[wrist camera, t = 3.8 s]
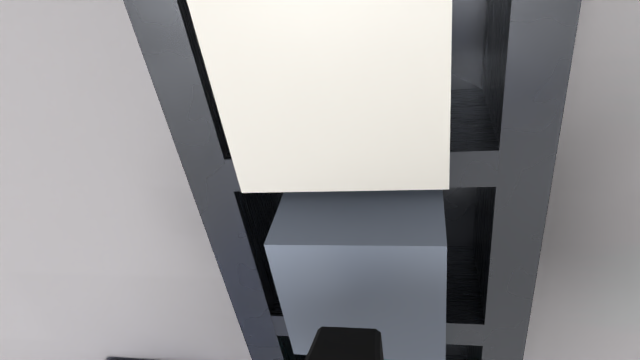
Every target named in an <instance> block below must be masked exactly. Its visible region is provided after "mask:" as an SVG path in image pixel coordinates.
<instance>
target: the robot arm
mask: <svg viewBox="0 0 640 360" xmlns="http://www.w3.org/2000/svg"><path fill="white" fill-rule="evenodd" d="M305 360H384V357H383V347H382V338H381V332H380V331H378V330H377V329H372V328H348V327H324V326H322V327H320V328H319V329H318V330H317V333H316V335H315V338H314V340H313V342H312V345H311V347H310V349H309V352H308V354H307V356H306V358H305Z"/></svg>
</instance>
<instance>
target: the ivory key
mask: <svg viewBox="0 0 640 360" xmlns="http://www.w3.org/2000/svg"><path fill="white" fill-rule="evenodd" d="M187 4H188V7H189V11H190V14H191V18H192V21H193V25H194V28H195V32H196V35H197V39H198V42H199V46H200V49H201V53H202V56H203V60H204V63H205V67H206V70H207V74H208V77H209V81H210V84H211V88H212V91H213V95H214V98H215V102H216V105H217V109H218V112H219V116H220V119H221V122H222V126H223V129H224V133H225V136H226V140H227V143H228V147H229V150H230V154H231V157H232V161H233V164H234V168H235V171H236V175H237V178H238V182H239V185H240V189H241V192H242V193H267V192H325V191H384V190H443V189H449V169H450V107H451V45H452V0H187Z"/></svg>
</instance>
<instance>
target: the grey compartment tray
mask: <svg viewBox="0 0 640 360" xmlns="http://www.w3.org/2000/svg"><path fill="white" fill-rule="evenodd" d="M123 1H124V4H125V7H126V9H127V12H128V15H129V18H130V21H131V23H132V26H133V29H134V32H135V35H136V37H137V40H138V43H139V46H140V48H141V51H142V54H143V57H144V60H145V62H146V65H147V68H148V71H149V74H150V76H151V79H152V82H153V85H154V88H155V90H156V93H157V96H158V99H159V101H160V104H161V107H162V110H163V113H164V115H165V118H166V121H167V124H168V127H169V129H170V132H171V135H172V138H173V140H174V143H175V146H176V149H177V152H178V154H179V157H180V160H181V163H182V166H183V168H184V171H185V174H186V177H187V180H188V182H189V185H190V188H191V191H192V193H193V196H194V199H195V202H196V205H197V207H198V210H199V213H200V216H201V219H202V221H203V224H204V227H205V230H206V232H207V235H208V238H209V241H210V244H211V246H212V249H213V252H214V255H215V258H216V260H217V263H218V266H219V269H220V272H221V274H222V277H223V280H224V283H225V285H226V288H227V291H228V294H229V297H230V299H231V302H232V305H233V308H234V311H235V313H236V316H237V319H238V322H239V324H240V327H241V330H242V333H243V336H244V338H245V341H246V344H247V347H248V350H249V352H250V355H251V358H252V360H305V358H306V356H307V355H301V354H294V353H293V349H292V345H291V342H290V338H289V335H288V331H287V327H286V324H285V320H284V316H283V313H282V309H281V306H280V302H279V298H278V295H277V291H276V287H275V284H274V280H273V276H272V273H271V269H270V266H269V262H268V258H267V255H266V251H265V247H264V243H265V240H266V238H267V235H268V233H269V230H270V227H271V225H272V222H273V219H274V217H275V214H276V211H277V209H278V206H279V203H280V201H281V198H282V196H283V193H284V192H267V193H242V192H241V189H240V185H239V182H238V178H237V175H236V171H235V168H234V164H233V161H232V157H231V154H230V150H229V147H228V143H227V140H226V136H225V133H224V129H223V126H222V122H221V119H220V116H219V112H218V109H217V105H216V102H215V98H214V95H213V91H212V88H211V84H210V81H209V77H208V74H207V70H206V67H205V63H204V60H203V56H202V53H201V49H200V46H199V42H198V39H197V35H196V32H195V28H194V25H193V21H192V18H191V14H190V11H189V7H188V4H187V0H123ZM580 6H581V0H452V45H451V107H450V169H449V189H443V201H444V214H445V226H446V239H447V290H446V360H523V355H524V349H525V343H526V337H527V331H528V325H529V318H530V312H531V306H532V300H533V294H534V288H535V282H536V276H537V269H538V263H539V257H540V251H541V245H542V239H543V233H544V227H545V221H546V214H547V208H548V202H549V196H550V190H551V184H552V178H553V172H554V165H555V159H556V153H557V147H558V141H559V135H560V129H561V123H562V116H563V110H564V104H565V98H566V92H567V86H568V80H569V74H570V67H571V61H572V55H573V49H574V43H575V37H576V31H577V25H578V18H579V12H580Z"/></svg>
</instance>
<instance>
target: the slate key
mask: <svg viewBox="0 0 640 360" xmlns="http://www.w3.org/2000/svg"><path fill="white" fill-rule="evenodd" d="M264 247H265V251H266V255H267V258H268V262H269V266H270V269H271V273H272V276H273V280H274V284H275V287H276V291H277V295H278V298H279V302H280V306H281V309H282V313H283V316H284V320H285V324H286V327H287V331H288V335H289V338H290V342H291V345H292V349H293V353H294V354H301V355H307V354H308V352H309V349H310V347H311V345H312V342H313V340H314V338H315V335H316V333H317V330H318V329H319V328H320V327H322V326H324V327H348V328H372V329H377V330H378V331H380V332H381V338H382V347H383V357H384V359H386V360H446V290H447V239H446V226H445V214H444V201H443V190H384V191H325V192H284V193H283V196H282V198H281V201H280V203H279V206H278V209H277V211H276V214H275V217H274V219H273V222H272V225H271V227H270V230H269V233H268V235H267V238H266V240H265V243H264Z"/></svg>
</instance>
